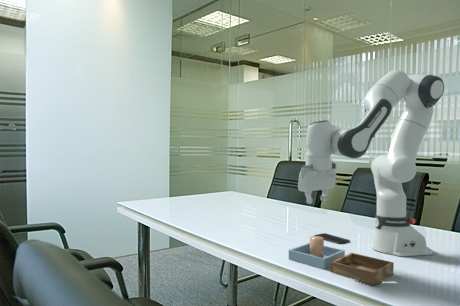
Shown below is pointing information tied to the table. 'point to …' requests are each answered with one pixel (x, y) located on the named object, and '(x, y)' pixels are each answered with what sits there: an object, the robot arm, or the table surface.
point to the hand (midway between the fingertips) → (316, 202)
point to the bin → (304, 256)
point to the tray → (362, 268)
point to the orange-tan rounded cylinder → (317, 246)
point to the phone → (333, 238)
